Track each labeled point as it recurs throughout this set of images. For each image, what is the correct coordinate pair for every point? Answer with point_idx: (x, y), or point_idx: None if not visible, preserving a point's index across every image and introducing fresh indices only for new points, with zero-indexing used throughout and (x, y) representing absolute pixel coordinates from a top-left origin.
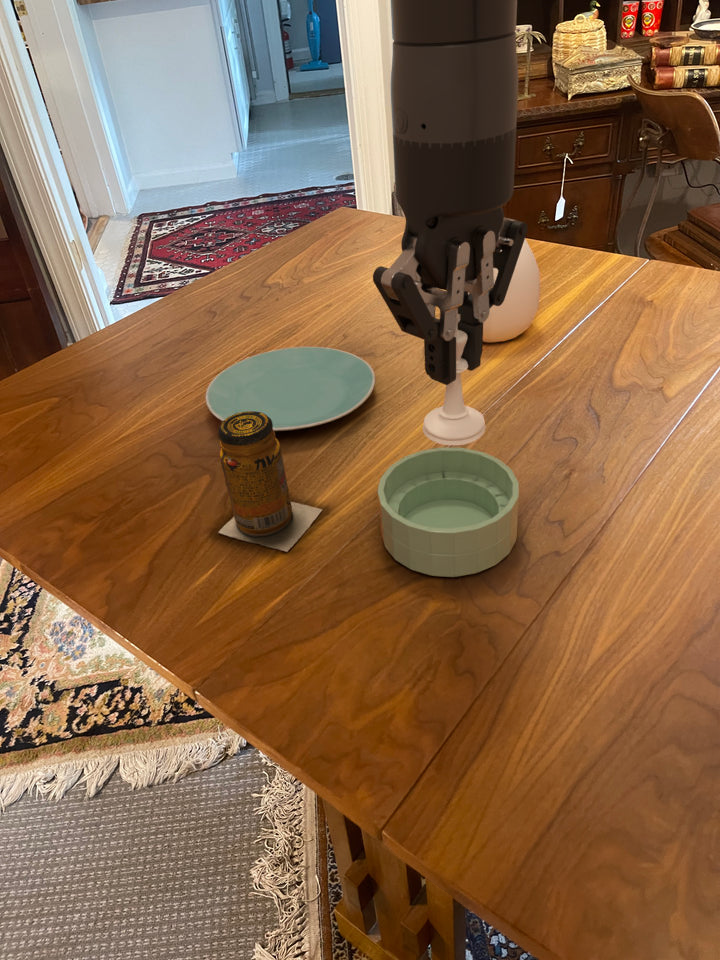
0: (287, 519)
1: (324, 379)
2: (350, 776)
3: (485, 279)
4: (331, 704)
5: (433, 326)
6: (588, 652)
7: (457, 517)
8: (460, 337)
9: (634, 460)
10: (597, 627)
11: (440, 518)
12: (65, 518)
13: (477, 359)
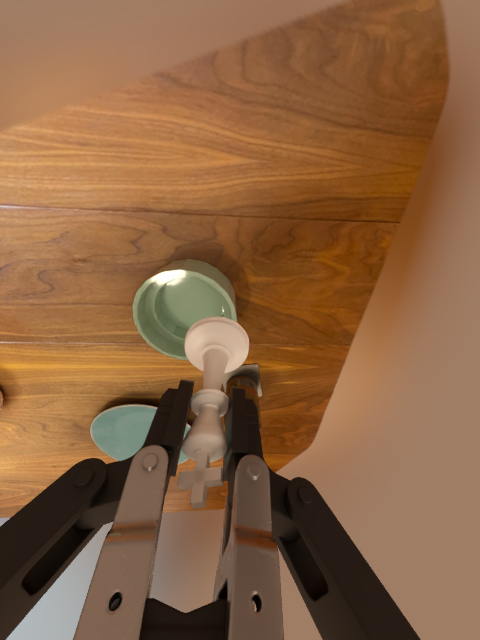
0: (238, 377)
1: (121, 429)
2: (376, 254)
3: (129, 595)
4: (339, 287)
5: (303, 511)
6: (239, 165)
7: (179, 304)
8: (208, 442)
9: (20, 219)
10: (214, 169)
11: (186, 312)
12: (285, 444)
13: (185, 390)
